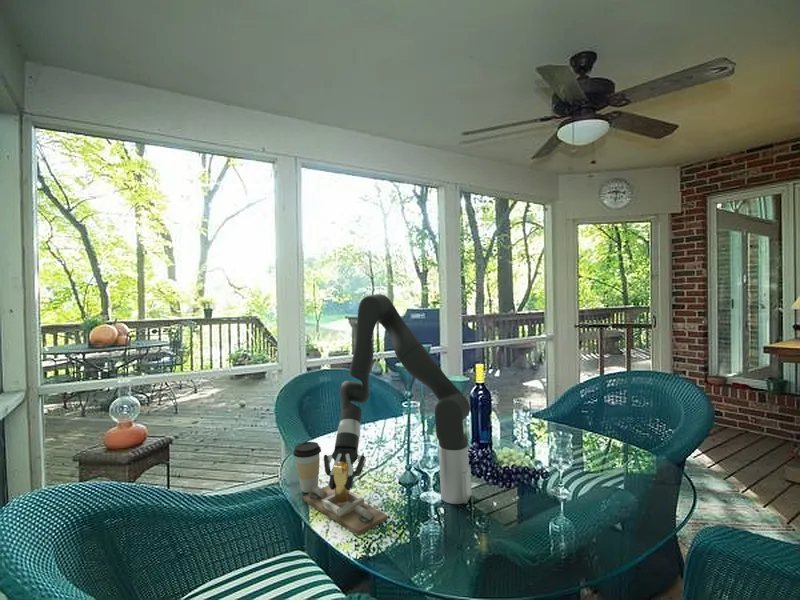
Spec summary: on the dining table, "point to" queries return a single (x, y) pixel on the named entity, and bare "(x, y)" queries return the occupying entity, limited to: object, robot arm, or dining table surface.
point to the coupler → (341, 482)
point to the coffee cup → (307, 464)
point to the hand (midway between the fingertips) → (340, 489)
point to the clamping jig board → (345, 509)
